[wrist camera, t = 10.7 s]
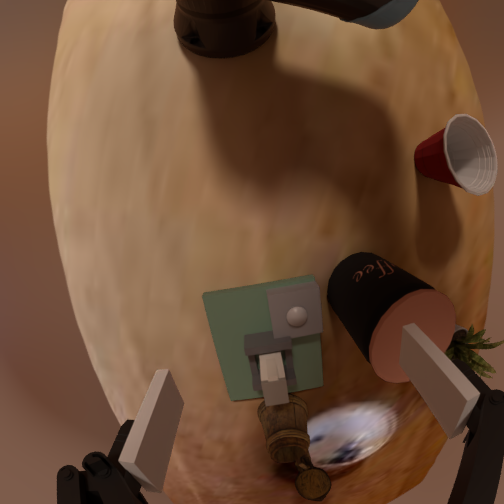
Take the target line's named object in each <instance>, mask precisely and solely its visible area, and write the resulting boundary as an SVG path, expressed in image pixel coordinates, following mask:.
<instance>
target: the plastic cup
mask: <svg viewBox="0 0 504 504" xmlns="http://www.w3.org/2000/svg"><path fill="white" fill-rule="evenodd" d="M414 160H415V164H416V167H417V168H418V170H419V172H420V173H422V174H423V175H424V176H426V177H429V178H432V179H435V180H438V181H441V182H445V183H448V184H452V185H455V186H457V187H460V188H463V189H464V190H465V191H466V192H469V193H472V194H475V195H478V196H479V195H482V194H486V193H488V192H489V190H490V189H491V188H492V186H493V185H494V183H495V179H496V176H497V156H496V152H495V148H494V144H493V142H492V140H491V138H490V136H489V134H488V133H487V130H486V129H485V128H484V127H483V126H482V124H481V123H480V122H479V121H478V120H477V119H475V118H473V117H471V116H469V115H467V114H456V115H455V116H454V117H453V118H451V119H450V120H449V121H448V122H447V125H446V127H445V128H444V129H442V130H441V131H439V132H437V133H436V134H434V135H432V136H431V137H430V138H428V139H427V140H425V141H423V142H422V143H420V144H419V145H418V146H417V148H416V150H415V154H414Z"/></svg>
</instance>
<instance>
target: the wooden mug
mask: <svg viewBox="0 0 504 504" xmlns="http://www.w3.org/2000/svg"><path fill="white" fill-rule="evenodd" d="M288 397H289V403H285V404H278V405H272V406H266V404H265V400H264V401H263V402H262V403H261V404H260V406H259V408H258V416H259V420H260V422H261V423H262V426H263V430H264V433H265V437H266V447H267V450H268V453H269V454H270V455H271V459H272V460H274V461H275V462H277V463H290V462H295V461H296V462H295V466H296V468H297V470H298V471H299V474H298V475H297V477H296V480H295V486H296V489H297V491H298V493H299V494H300V495H301V496H302V497H304V498H306V499H308V500H313V501H322V500H323V499H324V498H325V497H326V495H327V494H328V492H329V491H330V489H331V481H330V478H329V476H328V475H327V473H326V472H325V471H324V470H323V469H320V468H317V467H314V466H313V464H312V462H311V457H310V454H309V451H308V448H309V446H310V436H309V435H308V434H307V417H308V410H307V406H306V403H305V402H304V401H303V400H302V399H301V398H299V397H297V396H294V395H291V394H288Z"/></svg>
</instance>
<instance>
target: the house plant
mask: <svg viewBox="0 0 504 504" xmlns="http://www.w3.org/2000/svg"><path fill="white" fill-rule="evenodd" d="M485 331H486V330H482V331H480V332H478V333H476V334H475V335H473V333H474V328H473V325H472V326H471V327H470V329H469V331H468V330H467V329H465V328H463V327H461V326H458V325H456V324H455V331H454V334H453V337H452V340H451V343H450V345H449V346H448V348H447V350H446V351H445V353H444V354H445V355H446V356H447V357H448V358H449V359H450V360H451V361H453V360H455V359H459V360H461V361H464V362H465V363H466V364H467V365H468V366H469V367H470V368H471V369H472V370H474V371H476V372H477V373H478V374H479V375H480V378H481V376H484V377H487V378H492V377H491V376H489V375H487V374H486V373H484V372H483V371H487V372H491V373H496V371H495V370H494V369H493V368H492V367H491V366H490V365H489V364H488V363H487V362H486V361H485V360H484V359H483V358H482V357H481V356H479V355H477V354H476V353H475V352H474V351H472V350H470V349H491V348H495V347H497V346H499V345H501V344H503V343H504V341H500V342H497V343H491V344H483V343H487V342H489V341H488V340H489V339H490V338H488V339H487V340H484V339H481V337H482V336H483V335H484V333H485ZM472 335H473V336H472ZM472 342H479V343H476V344H468V343H472ZM482 370H483V371H482Z"/></svg>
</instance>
